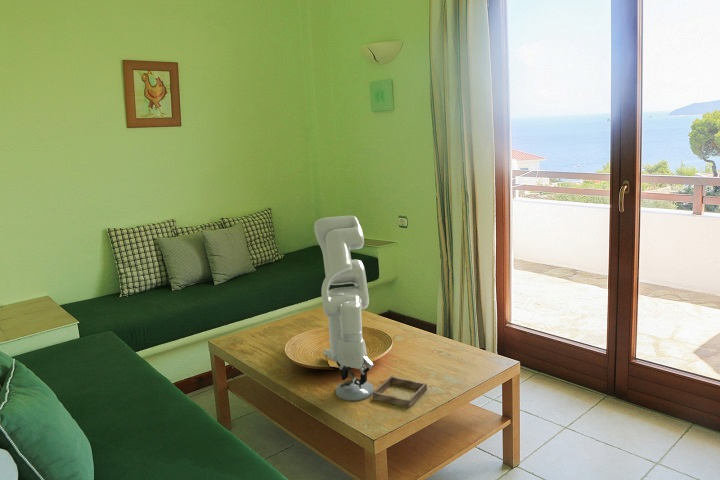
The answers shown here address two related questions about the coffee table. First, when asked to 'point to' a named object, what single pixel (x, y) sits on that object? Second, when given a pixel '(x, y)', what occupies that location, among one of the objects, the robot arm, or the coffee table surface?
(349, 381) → the eagle figurine
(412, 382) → the walnut frame
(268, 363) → the coffee table surface
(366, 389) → the grey round plate
